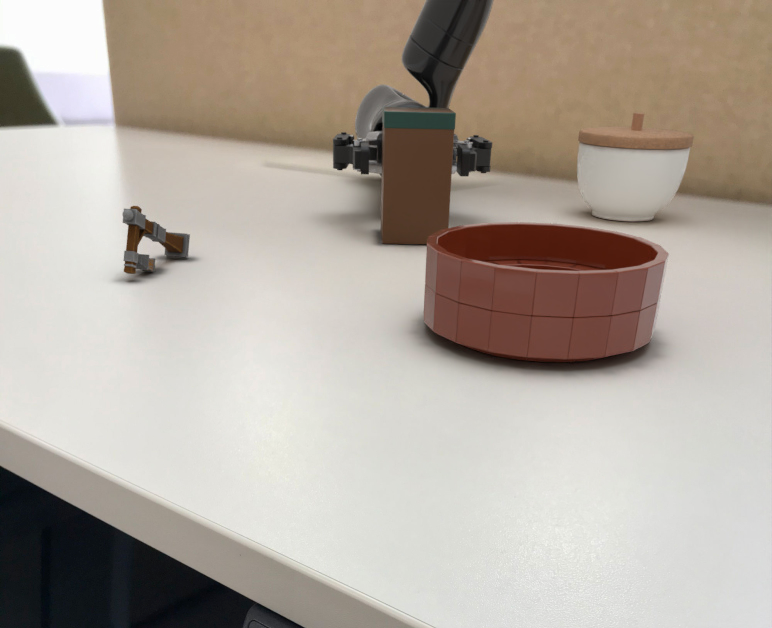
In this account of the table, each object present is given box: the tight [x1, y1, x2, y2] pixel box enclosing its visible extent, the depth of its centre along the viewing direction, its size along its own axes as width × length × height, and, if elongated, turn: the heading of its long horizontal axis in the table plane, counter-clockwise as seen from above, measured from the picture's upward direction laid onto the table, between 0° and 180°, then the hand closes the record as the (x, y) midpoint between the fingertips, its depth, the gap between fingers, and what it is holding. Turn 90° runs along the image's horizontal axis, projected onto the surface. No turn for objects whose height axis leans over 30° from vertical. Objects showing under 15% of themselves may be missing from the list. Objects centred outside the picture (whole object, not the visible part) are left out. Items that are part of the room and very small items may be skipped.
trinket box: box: [576, 112, 694, 222], centre depth 80 cm, size 11×11×9 cm
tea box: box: [380, 106, 457, 245], centre depth 69 cm, size 6×6×10 cm
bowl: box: [422, 221, 670, 363], centre depth 47 cm, size 13×13×5 cm
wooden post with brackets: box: [122, 205, 191, 275], centre depth 59 cm, size 2×8×4 cm, turn 167°
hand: (415, 162), depth 69 cm, fingers open, 8 cm apart
